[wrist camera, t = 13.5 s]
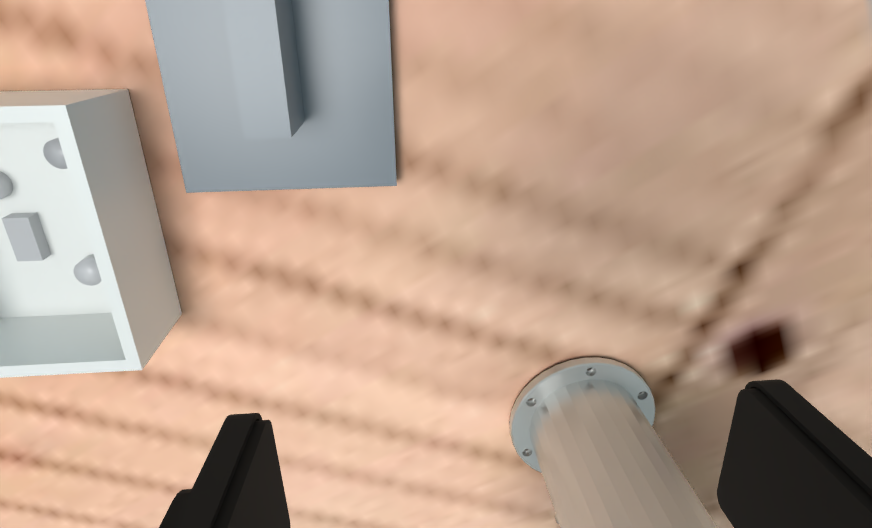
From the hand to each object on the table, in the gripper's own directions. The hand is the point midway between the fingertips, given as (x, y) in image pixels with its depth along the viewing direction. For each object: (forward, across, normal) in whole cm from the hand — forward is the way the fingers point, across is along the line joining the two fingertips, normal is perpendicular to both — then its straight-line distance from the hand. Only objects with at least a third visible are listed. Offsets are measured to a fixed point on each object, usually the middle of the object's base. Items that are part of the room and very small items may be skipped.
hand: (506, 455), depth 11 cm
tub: (+27, +26, +2) cm, 37 cm away
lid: (+28, +9, -8) cm, 30 cm away
